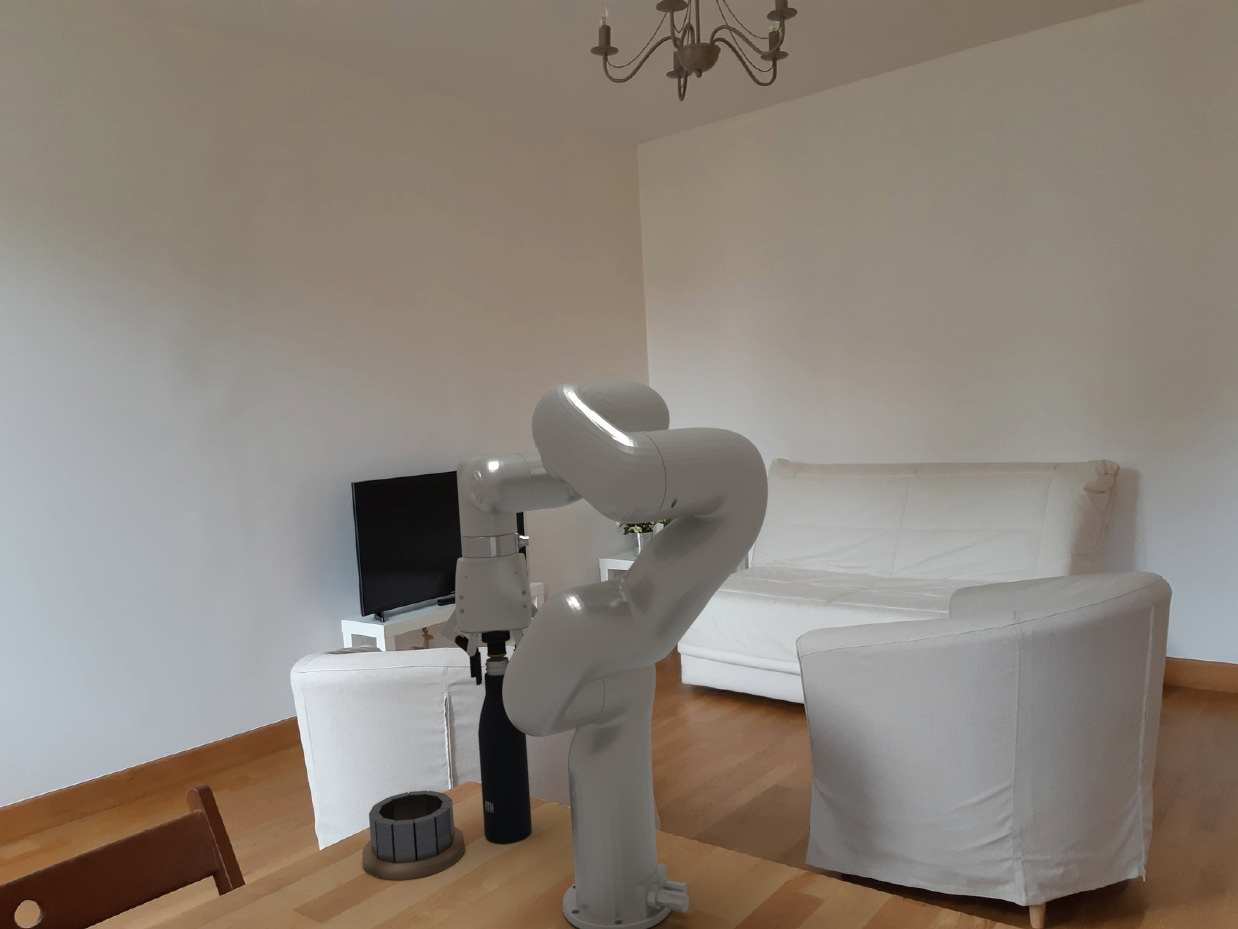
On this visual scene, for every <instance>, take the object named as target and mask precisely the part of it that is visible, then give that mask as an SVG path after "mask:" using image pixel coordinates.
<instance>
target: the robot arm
mask: <svg viewBox="0 0 1238 929" xmlns="http://www.w3.org/2000/svg"><path fill="white" fill-rule="evenodd" d="M531 418H532V419H531V434H532V439H533V442H534V445H535V448H536V450H537V451H528V452H526V451H525V452H516V453H509V454H508V453H507V454H488V455H487V454H483V455H473V456H472V455H471V456H466V457H463V458H461V459H460V460H459V461H458V463H457V466H456V479H457V480H456V482H457V495H458V509H459V510H458V511H459V512H458V513H459V525H460V526H459V527H460V541H461V542H460V543H461V553H462V554H461V555H462V557H459V558H457V561H456V566H455V567H456V568H455V570H456V571H455V586H454V587H455V592H454V593H455V597H454V598H455V599H454V600H455V601H454V602H455V608H454V610H453V612H452V613H451V615H450V616H449V617H448V619H447V620H446V622H445V624H444V625H443V627H442V629H441V631H440V634H441V635H442V636H443V637H444V638H446V639H448V640H449V641H451V642H453V643H455V644H456V645H457V646H458V647H459V648H460V649H462V650H463V652H465V653H466V654H467V655H468V657H469V667H470V668H469V672H470V678H472V679H474V678H475V683H476V686H480V685H482V683H483V670H482V667H483V666H482V657H481V656H482V654H481V653H482V652H481V651H480V647H479V646H478V642H479V638H480V634H481V633H487V632H490V631H510V632H511V633H512V634H511V635H512V636H513V637H512V638H513V640H514V648H513V653H512V655H511V657H510V658H509V662H508V665H507V668H506V671H505V675H504V679H503V688H502V694H503V703H504V708H505V711H506V713H507V716H508V718H509V719H510V721H511V722H512V724H513V725H514V726H515V727H516V728H517V729H518V730H520V731H521V732H523V733H525V734H526V736H530V737H536V738H537V737H538V738H543V737H548V736H549V737H550V736H554V735H558V734H561V733H565V732H567V731H571V730H574V733H573V735H572V738H571V741H570V746H569V748H568V749H569V750H568V757H567V758H568V759H567V768H568V771H567V772H568V787H569V788H568V789H569V803H570V804H569V806H570V816H571V818H570V819H571V820H570V821H571V834H572V835H571V836H572V837H571V838H572V850H573V851H572V852H573V867H574V868H573V869H574V883H573V884H572V885H570V886H569V887H568V889H567V890H566V891H565V893H564V894H563V898H562V912H563V914H564V917H565V918H566V920H567V921H568V922H569V923H570V924H572V925H573V926H574V927H576V928H578V929H649V928H652V927H654V926H655V925H658V924H659V923H661V921H663V920H664V919H665V918H666V917H667V916H668V915H669V914H670V913H671V911H676V912H681V913H686V912H687V911H688V909H689V907H690V906H689V905H690V896H689V894H688V890H689V888H688V887H689V886H688V883H686V882H681V881H673V880H670V879H669V877H667V868H666V867H667V866H666V865H667V864H665V863H661V862H658V854H657V853H658V851H657V838H656V837H657V835H656V817H655V801H654V800H655V799H654V797H655V796H654V784H653V783H654V782H653V781H654V780H653V760H652V759H653V758H652V715H653V707H654V700H655V699H654V698H655V694H656V693H655V691H656V683H657V671H656V663H659V662H661V661H662V660H664V659H665V658H666V657H667V656H669V654H670V653H671V652H672V651H673V650H674V649H675V647H676V646H677V645H678V643H680V641H681V640H682V638H683V637H684V636H685V634H686V633H687V631H688V630H689V629H690V628H691V626H692V625H693V624H694V623H695V621H696V620H697V619H698V617H699V616H700V615H701V614H702V612H703V611H704V609H706V606H707V605H708V604H709V601H711V599H712V598H713V596H714V595H715V594H716V592H717V591H718V590H719V589H720V588H721V586H722V585H723V584H724V583H725V582H726V581H727V580H728V579H729V577H730V576H731V575H732V574H733V572H735V571H736V569H737V568H738V567H739V565H740V564H741V563H742V561H743V560H744V559H745V558H746V556H747V555H748V553H749V552H750V550H752V547H753V546H754V544H755V543H756V541H757V539H758V537H759V534H760V533H761V530H762V527H763V524H764V521H765V517H766V513H767V506H768V498H769V487H768V486H769V483H768V475H767V468H766V465H765V464H766V463H765V462H764V459H763V456H762V454H761V452H760V450H759V449H758V448H757V446H756V445H755V444H754V443H753V442H752V441H751V440H750V439H749V438H747V437H746V436H744V435H743V434H741V433H738V432H736V431H732V430H730V429H725V428H718V427H701V426H700V427H685V428H684V427H683V428H669V427H670V423H671V422H670V421H671V420H670V419H671V418H670V412H669V408H668V405H667V403H666V402H665V400H664V398H663V397H662V396H661V395H660V393H659V392H657V391H656V390H655V389H653V388H652V387H650V386H648V385H645V384H644V383H640V382H636V381H629V380H612V381H611V380H609V381H583V382H565V383H560V384H558V385H555V386H553V387H551V388H550V389H548V390H547V391H546V392H545V393H544V394H543V395H542V396H541V397H540V398H539V400H538V402H537V403H536V406H535V408H534V410H533V414H532V417H531ZM583 499H584V500H585V501H586V502H587V503H588V504H589V505H590V506H591V507H592V508H593V509H594V510H595V511H597V512H598V513H599V514H601V515H602V516H604V517H605V518H607V519H609V520H611V521H614V522H615V523H622V524H630V525H631V524H633V525H635V524H643V523H651V522H658V521H667V520H671V519H672V521H670V522H669V523H667V525H665V526H664V527H663V528H662V529H660V530H659V531H658V532H657V533H655V534H654V535H653V536H652V537H650V539H649V540H648V541H647V542H646V543H645V544H644V546H643V547H642V548H641V550H640V551H639V553H638V555H637V557H636V558H635V560H634V561H633V563H632V564H630V567H629V568H628V569H627V570H626V571H625V572H624V573H623V574H621V575H619V576H617V577H614V578H610V579H608V580H604V581H599V582H594V583H589V584H583V585H578V586H573V587H570V588H566V589H563V590H560V591H559V592H557V593H555V594H554V595H552V596H550V597H549V598H548V599H546V600H545V601H544V602H543V603H541V605H540V607H539V608H538V607H537V606H536V604H534V603H533V601H532V594H531V582H530V575H529V571H528V570H529V569H528V564H527V561H526V556H525V553H523V552H521V553H519V550H521V548H523V547H525V546H526V547H528V546H529V544H530V543H529V535H521V534H520V533H518V524H517V521H518V520H517V513H522V512H523V513H524V512H531V511H540V510H546V509H547V510H548V509H550V510H551V509H556V508H563V507H566V506H569V505H571V504H574V503H577V502H578V501H581V500H583ZM455 627H456V628H457V630H456V629H455ZM524 629H526V630H525V632H524V633H523V630H524ZM458 631H459V632H458ZM464 634H468V635H469V636H468V638H467V637H466V636H465V635H464Z"/></svg>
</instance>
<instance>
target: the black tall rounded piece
mask: <svg viewBox="0 0 1238 929" xmlns="http://www.w3.org/2000/svg"><path fill="white" fill-rule="evenodd" d="M480 636H481V637H480V638H481V643H485V644H486V648H487V649H486V650H487V652H486V656H487V657H488V658H487V659H486V660H485V663H484V664H485V666H486V667H485V671H486V672H485V673H484V674H483V675H484V676H483V678H484V690H485V693H484V694H485V695H484V697H483V698H484V699H483V702H482V706H481V710H480V715H479V722H478V732H477V734H478V738H477V739H478V751H479V752H478V754H479V764H480V765H479V767H480V779H481V780H480V782H481V783H480V785H481V795H482V796H481V797H482V798H481V799H482V813H483V824H484V825H483V826H484V829H483V830H484V837H485V839H486V840H487V841H488V842H490V843H494V844H497V845H498V844H499V845H505V844H506V845H508V844H514V843H518V842H521V841H524V840H526V839H527V838H529V836H530V835H531V834H532V833H533V832H532V831H533V826H532V825H533V824H532V812H531V811H532V810H531V795H530V779H529V763H528V760H529V759H528V746H527V734H525V733H523V732H521V731H520V730H518V729H517V728H516V727H515V726H514V725H513V724H512V722H511V721H510V719H509V718H508V716H507V713H506V711H505V708H504V703H503V694H502V688H503V679H504V675H505V671H506V668H507V665H508V662H509V660H510V658H509V657H508V656H506V655H507V653H508V652H507V648H506V647H507V644H506V642H508V641H510V640H511V631H490V632H487V633H480Z"/></svg>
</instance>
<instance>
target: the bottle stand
mask: <svg viewBox="0 0 1238 929" xmlns="http://www.w3.org/2000/svg"><path fill="white" fill-rule="evenodd" d="M453 805H454V804H453V799H452V798H451V797H450V796H449V795H447V794H446V793H444V792H441V791H440V792H439V791H433V790H418V791H417V790H415V791H414V790H413V791H409V792H408V791H406V792H401V793H398V794H395V795H391V796H388V797H386V798H384V799H382V800H381V801H379V802H376V803H375V804H374V805H373V806H372V808H371V809H370V811H369V812H368V819H369V834H370V840H369V841H367V843H365V845H364V847H363V849H362V853H361V854H362V866H363V865H364V866H363V869H364V868H365V869H366V870H365V869H364V870H365V871H366V873H367V872H368V873H367V874H369V873H370V874H372V875H374V876H377V877H376V878H378V877H379V878H378V879H381V878H382V880H388V881H389V880H390V881H407V880H416V879H420V878H424V877H429V876H432V875H435V874H438V873H440V872H442V871H444V870H447V869H449V868H450V867H452V866H453V865H455V864H456V863H458V861H459V860H460V859H461V858H462V857H463V855H464V853H465V836H464V833H463V831H461V830H460V828H458V827H455V819H454V807H453ZM370 874H369V875H370ZM372 875H371V876H372ZM374 876H373V877H374Z"/></svg>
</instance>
